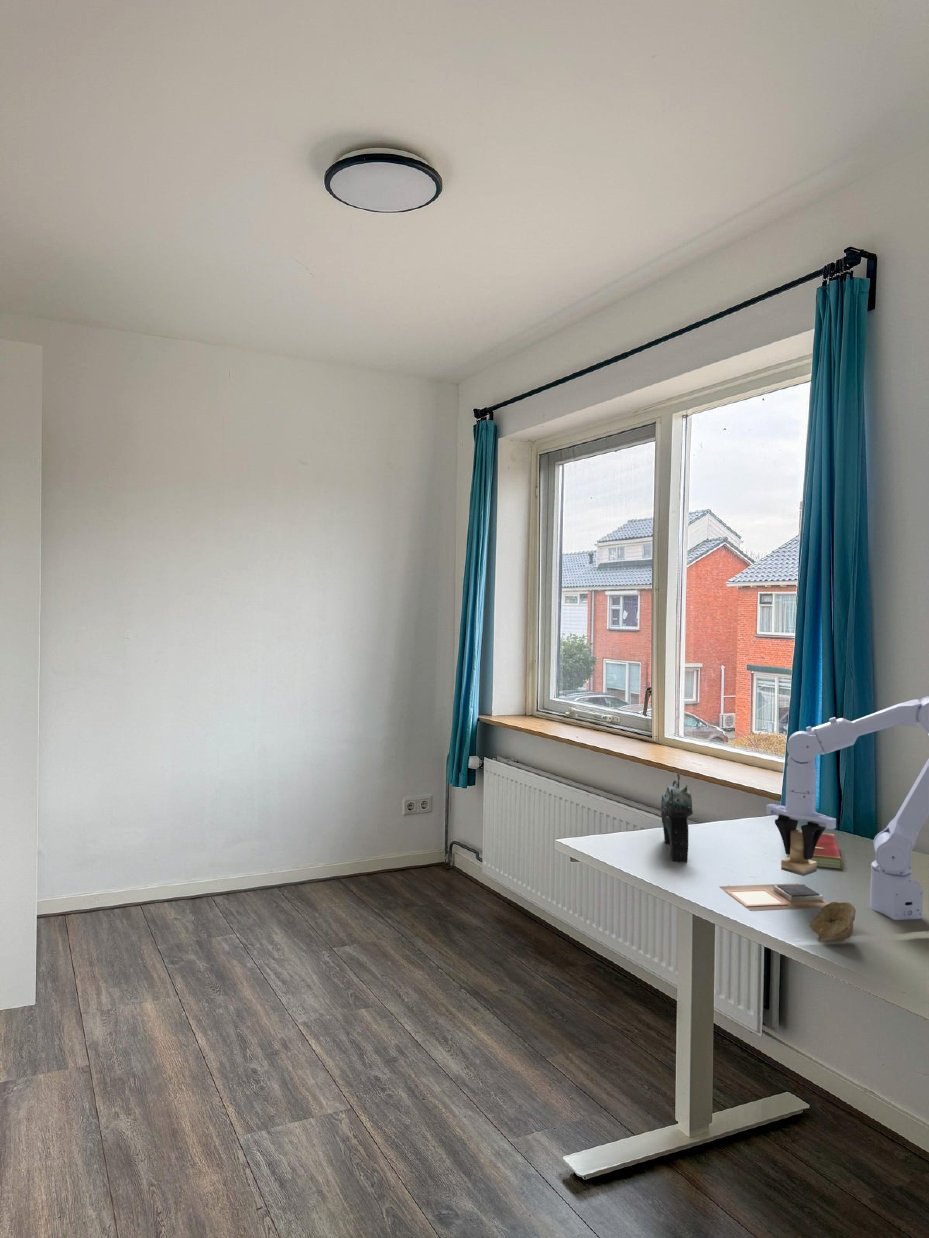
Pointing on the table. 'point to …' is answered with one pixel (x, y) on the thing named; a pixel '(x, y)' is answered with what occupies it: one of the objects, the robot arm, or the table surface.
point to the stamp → (798, 857)
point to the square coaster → (756, 897)
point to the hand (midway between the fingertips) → (798, 855)
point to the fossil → (834, 922)
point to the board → (771, 888)
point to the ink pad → (798, 893)
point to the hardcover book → (826, 852)
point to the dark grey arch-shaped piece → (676, 820)
